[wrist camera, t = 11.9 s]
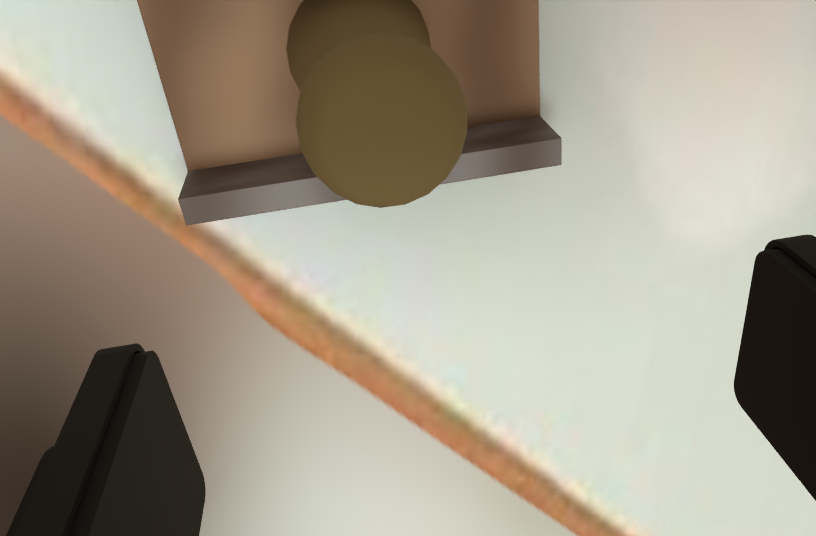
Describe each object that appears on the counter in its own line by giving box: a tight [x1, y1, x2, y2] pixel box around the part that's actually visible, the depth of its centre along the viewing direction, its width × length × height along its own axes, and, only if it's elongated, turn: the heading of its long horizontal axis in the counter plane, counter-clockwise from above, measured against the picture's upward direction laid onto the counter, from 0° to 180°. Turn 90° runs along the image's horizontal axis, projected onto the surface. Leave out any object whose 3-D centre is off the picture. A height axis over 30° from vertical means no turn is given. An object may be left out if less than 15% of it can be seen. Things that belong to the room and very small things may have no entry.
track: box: [137, 0, 561, 225], centre depth 28 cm, size 16×11×4 cm
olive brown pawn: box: [286, 0, 467, 208], centre depth 24 cm, size 6×6×11 cm
